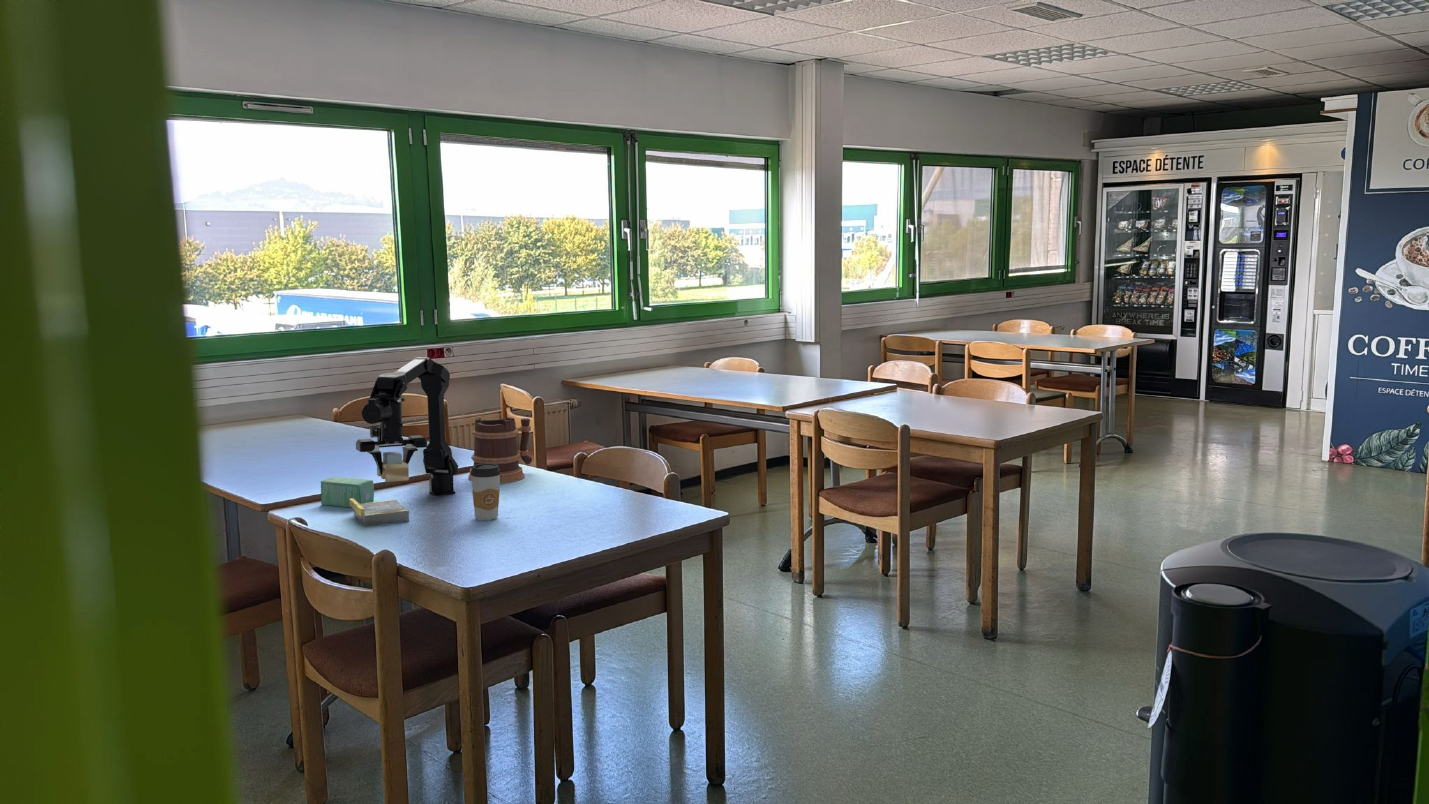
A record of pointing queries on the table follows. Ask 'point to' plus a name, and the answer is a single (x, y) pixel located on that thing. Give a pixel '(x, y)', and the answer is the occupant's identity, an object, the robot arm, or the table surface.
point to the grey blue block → (392, 457)
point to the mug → (501, 446)
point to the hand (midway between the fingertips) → (392, 473)
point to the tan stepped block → (394, 471)
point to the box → (346, 491)
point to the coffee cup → (485, 490)
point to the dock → (379, 512)
